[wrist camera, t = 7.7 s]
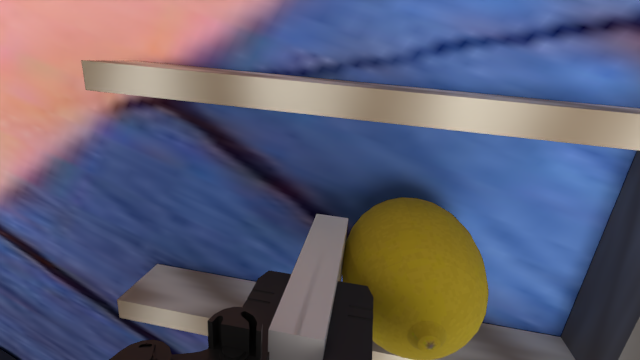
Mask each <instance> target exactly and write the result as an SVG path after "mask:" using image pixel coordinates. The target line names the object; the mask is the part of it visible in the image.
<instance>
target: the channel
mask: <svg viewBox="0 0 640 360" xmlns="http://www.w3.org/2000/svg"><path fill="white" fill-rule="evenodd" d="M81 61H82V68H83V75H84V81H85V88H86V90H90V91H99V92H108V93H118V94H127V95H136V96H145V97H154V98H163V99H172V100H182V101H191V102H200V103H209V104H218V105H227V106H236V107H246V108H255V109H264V110H273V111H282V112H291V113H300V114H310V115H319V116H328V117H337V118H346V119H355V120H364V121H374V122H383V123H392V124H401V125H410V126H419V127H428V128H438V129H447V130H456V131H465V132H474V133H483V134H492V135H501V136H511V137H520V138H529V139H538V140H547V141H556V142H565V143H575V144H584V145H593V146H602V147H611V148H620V149H629V150H638V151H637V153H636V156H635V158H634V161H633V163H632V165H631V168H630V170H629V173H628V175H627V178H626V180H625V182H624V185H623V187H622V190H621V192H620V194H619V197H618V199H617V202H616V204H615V207H614V209H613V211H612V214H611V216H610V219H609V221H608V224H607V226H606V228H605V231H604V233H603V236H602V238H601V241H600V243H599V245H598V248H597V250H596V253H595V255H594V258H593V260H592V262H591V265H590V267H589V270H588V272H587V275H586V277H585V279H584V282H583V284H582V287H581V289H580V292H579V294H578V296H577V299H576V301H575V304H574V306H573V309H572V311H571V313H570V316H569V318H568V321H567V323H566V326H565V328H564V330H563V333H562V335H561V337H557V336H552V335H546V334H541V333H535V332H530V331H524V330H519V329H513V328H508V327H502V326H497V325H491V324H486V323H482V324H481V326H480V328H479V330H478V332H477V333H476V334H475V335H474V336H473V337H472V339H471V340H470V341H469V342H468V343H467V344H466V345H465V346H464V347H462V348H461V349H459V350H458V351H456V352H455V353H452V354H450V355H447V356H445V357H443V358H439V359H433V360H640V108H629V107H619V106H608V105H597V104H587V103H576V102H566V101H555V100H544V99H534V98H523V97H513V96H502V95H491V94H481V93H470V92H460V91H449V90H438V89H428V88H417V87H407V86H396V85H385V84H375V83H364V82H354V81H343V80H332V79H322V78H311V77H301V76H290V75H279V74H269V73H258V72H248V71H237V70H226V69H216V68H205V67H195V66H184V65H173V64H163V63H152V62H142V61H86V60H81ZM255 283H256V282H254V281H249V280H243V279H238V278H232V277H227V276H221V275H216V274H210V273H205V272H199V271H194V270H188V269H182V268H177V267H171V266H166V265H160V264H157V265H156V266H154V267H153V268H152V269H151V270H150V271H149V272H148V273H147V274H145V275H144V276H143V277H142V278H141V279H140V280H139V281H138V282H136V283H135V284H134V285H133V286H132V287H131V288H130V289H129V290H127V291H126V292H125V293H124V294H123V295H122V296H121V297H120V298H119V299H117V303H118V309H119V316H120V318H124V319H129V320H134V321H138V322H143V323H148V324H153V325H158V326H162V327H167V328H172V329H177V330H182V331H186V332H191V333H196V334H201V335H206V336H208V322H207V321H208V320H209V319H210V318H211V317H212V316H213V315H214V314H215V313H217V312H219V311H221V310H223V309H226V308H231V307H243V305H244V303H245V301H246V300H247V298H248V296H249V294H250V292H251V291H252V289H253V287H254V285H255ZM372 360H413V359H408V358H402V357H400V356H397V355H395V354H392V353H390V352H388V351H386V350H385V349H383V348H382V347H380V346H379V345H377V344H376V343H375V342H374V341H372Z"/></svg>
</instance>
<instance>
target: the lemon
mask: <svg viewBox="0 0 640 360" xmlns="http://www.w3.org/2000/svg"><path fill="white" fill-rule="evenodd" d="M342 277H343V282H346V283H352V284H358V285H365V286H368V288H369V290H370V292H371V294H372V295H373V341H374V342H375V343H376V344H377V345H379V346H380V347H382V348H383V349H385V350H386V351H388V352H390V353H392V354H395V355H397V356H400V357H402V358H408V359H413V360H433V359H439V358H443V357H445V356H447V355H450V354H452V353H455V352H456V351H458V350H459V349H461V348H462V347H464V346H465V345H466V344H467V343H468V342H469V341H470V340H471V339H472V337H473V336H474V335H475V334H476V333H477V332H478V330H479V328H480V326H481V324H482V321H483V319H484V317H485V314H486V308H487V301H488V284H487V278H486V272H485V267H484V263H483V259H482V256H481V254H480V252H479V250H478V248H477V246H476V244H475V242H474V240H473V239H472V237H471V235H470V233H469V232H468V230H467V229H466V228H465V227H464V226H463V225H462V224H461V223H460V222H459V221H458V220H457V219H456V218H455V217H454V216H453V215H452V214H451V213H450V212H448V211H446V210H445V209H443V208H441V207H440V206H438V205H436V204H434V203H432V202H429V201H425V200H422V199H418V198H405V197H401V198H395V199H389V200H386V201H384V202H381V203H379V204H377V205H375V206H373V207H372V208H371V209H369V210H368V211H367V212H365V213H364V214H363V215H362V216H361V217H360V218H359V220H358V221H357V222H356V223H355V225H354V226H353V227H352V229H351V232H350V234H349V236H348V239H347V241H346V244H345V250H344V257H343V266H342Z"/></svg>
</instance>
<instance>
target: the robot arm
mask: <svg viewBox="0 0 640 360" xmlns="http://www.w3.org/2000/svg"><path fill="white" fill-rule="evenodd" d="M347 226H348V218H343V217H336V216H329V215H322V214H316V216H315V219H314V221H313V224H312V226H311V228H310V231H309V233H308V236H307V238H306V241H305V243H304V245H303V248H302V250H301V253H300V255H299V257H298V260H297V262H296V265H295V267H294V269H293V272H292V274H287V273H281V272H275V271H268V272H266V273H265V274H264V275H262V276H261V277H260V278H258V280H257V282H256V283H255V285H254V287H253V289H252V291H251V292H250V294H249V296H248V298H247V300H246V301H245V303H244V305H243V307H231V308H226V309H223V310H221V311H219V312H217V313H215V314H214V315H213V316H212V317H211V318H210V319H209V320H208V321H207V322H208V343H209V348H208V349H207V350H204V351H201V352H195V353H186V354H175V355H171V351H170V347H168V346H167V345H166V344H165V343H164V342H161V341H157V340H144V341H140V342H137V343H134V344H131V345H129V346H128V347H126V348H125V349H123V350H121V351H120V352H118V353H117V354H116V355H115V356H113V357H112V358H111V359H110V360H372V341H373V295H372V294H371V292H370V290H369V288H368V286H365V285H358V284H352V283H346V282H341V277H342V266H343V257H344V250H345V244H346V235H347ZM0 360H16V359H15V358H13V357H12V356H10V355H9V354H7V353H5V352H4V351H2V350H0Z"/></svg>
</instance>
